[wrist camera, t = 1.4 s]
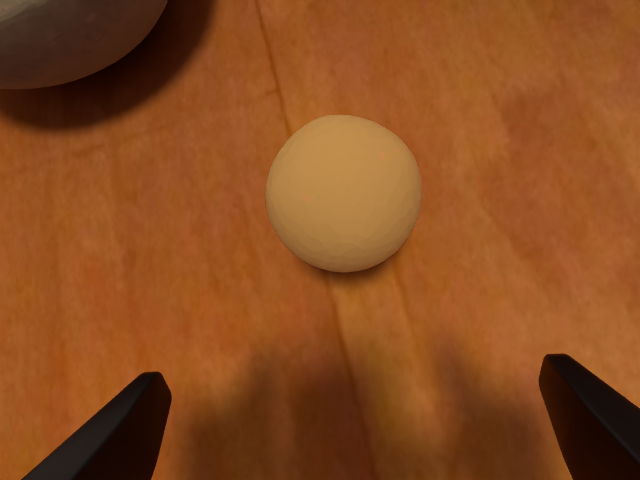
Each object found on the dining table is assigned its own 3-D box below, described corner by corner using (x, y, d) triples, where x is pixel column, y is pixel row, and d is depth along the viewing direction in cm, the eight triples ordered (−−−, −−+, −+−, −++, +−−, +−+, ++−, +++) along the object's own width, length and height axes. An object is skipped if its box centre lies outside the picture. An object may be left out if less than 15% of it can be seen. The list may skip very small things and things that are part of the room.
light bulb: (426, 214, 23) (465, 124, 13) (374, 310, 22) (375, 291, 12) (331, 169, 24) (303, 58, 14) (279, 257, 23) (212, 202, 13)
